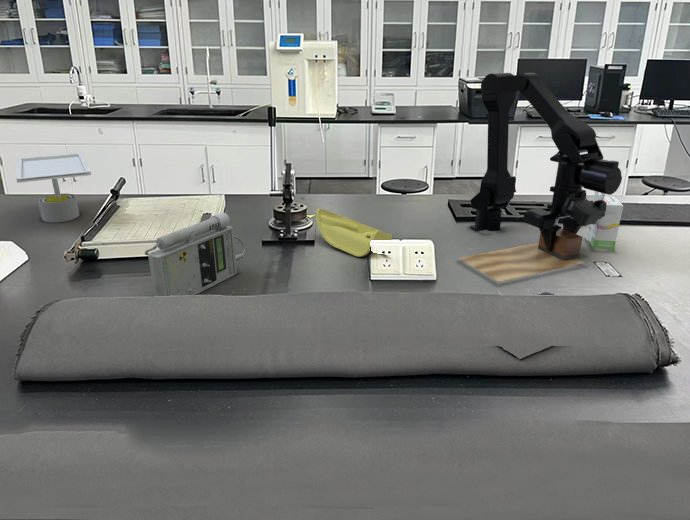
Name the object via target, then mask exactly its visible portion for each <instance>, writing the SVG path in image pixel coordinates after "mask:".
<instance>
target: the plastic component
mask: <svg viewBox="0 0 690 520" xmlns="http://www.w3.org/2000/svg"><path fill="white" fill-rule="evenodd" d="M315 215H316V216H315V217H316V224H317V227H318V230H319V232H320V234H321V236H322V238H323V239H324V240H325V241H326V243H328V244H329V245H331V246H332V247H334V248H336V249H339V250H341V251H343V252H345V253H348V254H350V255H352V256H355V257H357V258H361V257H365V256H367V255H368V254H369V253H370V251H371V249H370V241H371V240H391V241H392V239H393V237H394V236H393V235H392V234H391V233H387V232H384V231H383V230H380V229H377V228H374V227H372V226H369V225H366V224H364V223H362V222H358V221H357V220H353V219H351V218H348V217H345V216H342V215H340V214H338V213H334V212H331V211H328V210H326V209H323V208H321V207H318V208H316V213H315Z"/></svg>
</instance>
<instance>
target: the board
mask: <svg viewBox="0 0 690 520" xmlns="http://www.w3.org/2000/svg"><path fill="white" fill-rule="evenodd" d="M538 244H539V242H535V243H530V244H524V245H519V246H514V247H509V248H508V247H507V248H504V249H497V250H494V251H488V252H483V253H477V254H472V255H467V256H460V257H458V259H459V260H461V261H462V262H464V263H466V264H468V265H469V266H471V267H473V268H474V269H476V270H477V271H480V272H481V273H483V274H484V275H486V276H488V277H490V278H491V279H493V280H495V281H496V282H499V283H500V282H503V281H509V280H514V279H517V278H522V277H526V276H531V275H536V274H540V273H544V272H549V271H553V270H559V269H563V268H567V267H572V266H577V265H581V264H584V261H581V260H579V259H576V258H572V259H567V260H561V259H559V258H557V257H555V256H553V255H551V254H549V253H546V252H544V251H542V250H540V249H538Z"/></svg>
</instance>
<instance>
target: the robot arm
mask: <svg viewBox="0 0 690 520" xmlns="http://www.w3.org/2000/svg"><path fill="white" fill-rule="evenodd" d="M518 92H520V93H521V95H523V97H524V98H525V99H526V101H528V103H529V104H530V105H531V107H532V108H533V109H534V110H535V111H536V113H537V114H538V115H539V116H540V118H542V120H543V121H544V123H545V124H546V125H547V126H548V128H549V129H550V135H551V140H552V142H553V144H555V147H556V148H557V150H558V151H557V152H556V153H555V154H554V155H553V156H551V157H550V158H549V161H551V162H556V163H557V168H556V173H555V174H556V175H555V182H554V185H551V186H550V187H549V192H551V193H553V194H552V199H551V203H547V206H546V209H547V210H550V211H547V210H546V209H543V208H532V209H527V210H526V211H524V213H523V219H522V222H523V223H526V224H528V225H531V226H533V227H535V228H536V229H539V231H541V234H542V236H543V239H544V242H545V245H546V248H547V250H548V251H550V252H551V251H552V249H553V246H554V241H555V237H556V232H557V231H558V230H559V229H561V228H562V229H565V230H567V231H570V232H572V233H575V234H577V235H578V232H579V231H580V230H581V228H582V227H586V226H589V225H590V224H593V225H594V224H596V222H597V221H598V219H601V218H602V217H604V216H605V212H606V204H607V203H606V202H605V201H603V200H597V201H595V202H593V200H588V199H587V190H588V191H593V192H595V191H596V192H598V193H599V194H601V193H604V194H605V195H607V196H612V195H613V194H615V193H616V192H617V191H618V190H619V187H620V185H621V184H622V179H623V176H622V170H621V169H620V167H619V165H620V163H619V161H618V160H608V159H604V154H603V152H602V151H601V148H600V146H599V143H598V141H597V139H596V138H597V133H596V131H595V129H594V128H593V127H591V125H589V124H588V123H587V122H585V121H584V120H582V119H580V118H578V117H576V116H574V115H572V114H571V113H570V112H569V111H568V110H567V109H566V108H565V106H564V105H563V104H562V102H560V100H559V99H558V98H557V97H556V96H555V95H554V94H553V93H552V91H551V90H550V89H549V88H548V86H547V85H546V84H545V83H544V82H543V81H542V79H541V76H540V75H539V74H537V73H536V72H522V73H520V74H515V75H514V74H513V73H512V72H496V73H493V72H492V73H488V74H487V75H485V76H484V77H483V79H482V80H481V83H480V94H481V102H482V103H483V105H484V107H485V109H486V111H487V154H486V155H487V158H486V159H487V160H486V162H487V164H486V172H485V174H484V175H483V177H482V179H481V180H480V187H479V192H478V193H477V194H475V195H474V196H472V198H471V199H470V209H473V210H476V212H475V221H474V224H472V225H470V226H469V228H470V229H472V230H474V231H476V232H481V231H482V232H483V231H489V232H497V231H501V224H502V209H503V208H507V207H508V205H509V203H510V202H511V201H512V199H514V197H515V196H514V195H515V193H517V189H516V182H517V178H516V176H513V175H511V173H510V171H509V170H508V161H509V129H510V128H509V125H510V124H509V123H510V110H511V108H512V106H513V105H514V102H515V100H516V97H517V93H518ZM561 219H562V225H559V220H561Z"/></svg>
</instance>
